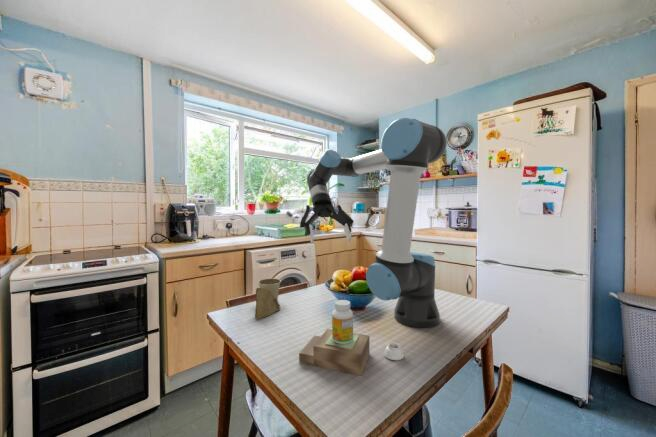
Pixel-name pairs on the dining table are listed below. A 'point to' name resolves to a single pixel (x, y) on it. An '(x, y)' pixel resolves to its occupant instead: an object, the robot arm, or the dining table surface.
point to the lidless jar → (393, 352)
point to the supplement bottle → (342, 322)
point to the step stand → (336, 353)
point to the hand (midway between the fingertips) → (331, 240)
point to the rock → (265, 303)
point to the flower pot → (271, 285)
